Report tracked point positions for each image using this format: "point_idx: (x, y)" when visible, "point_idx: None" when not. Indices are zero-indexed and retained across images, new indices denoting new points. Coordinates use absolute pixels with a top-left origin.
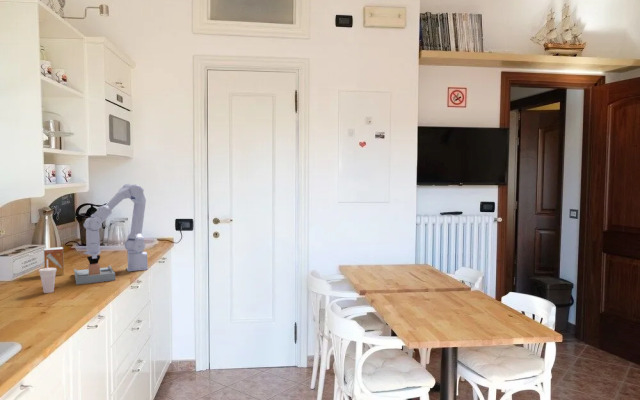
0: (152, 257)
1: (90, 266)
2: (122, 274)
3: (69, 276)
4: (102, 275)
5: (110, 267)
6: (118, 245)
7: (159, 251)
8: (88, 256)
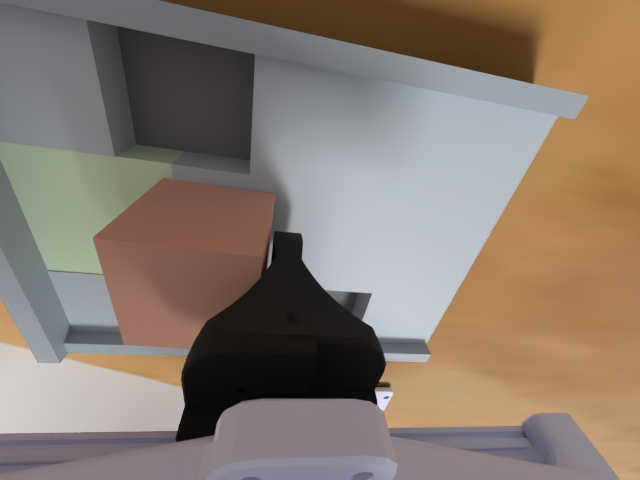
0: None
1: (101, 253)
2: None
3: (504, 11)
4: (3, 276)
5: None
6: None
7: None
8: (376, 366)
